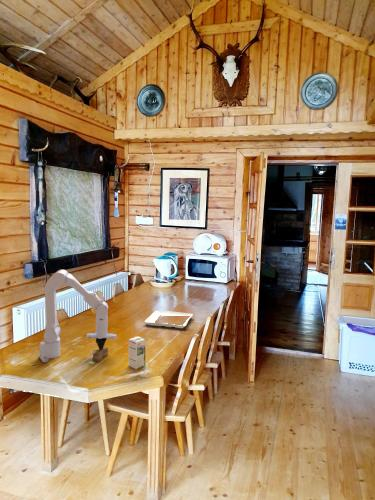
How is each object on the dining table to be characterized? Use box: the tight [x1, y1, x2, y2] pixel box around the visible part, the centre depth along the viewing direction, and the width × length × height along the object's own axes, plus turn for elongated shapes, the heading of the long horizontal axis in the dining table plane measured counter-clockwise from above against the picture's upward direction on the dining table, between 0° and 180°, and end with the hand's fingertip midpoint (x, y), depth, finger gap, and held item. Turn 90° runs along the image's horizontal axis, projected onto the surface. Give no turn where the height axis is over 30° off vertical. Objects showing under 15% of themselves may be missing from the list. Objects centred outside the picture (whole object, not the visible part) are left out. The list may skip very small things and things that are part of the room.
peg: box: [89, 347, 109, 362], centre depth 181 cm, size 4×12×5 cm, turn 153°
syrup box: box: [128, 336, 147, 370], centre depth 175 cm, size 6×6×14 cm
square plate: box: [143, 310, 194, 329], centre depth 247 cm, size 27×27×4 cm
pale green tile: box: [87, 360, 96, 365], centre depth 176 cm, size 2×3×1 cm
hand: (101, 352), depth 186 cm, fingers closed
